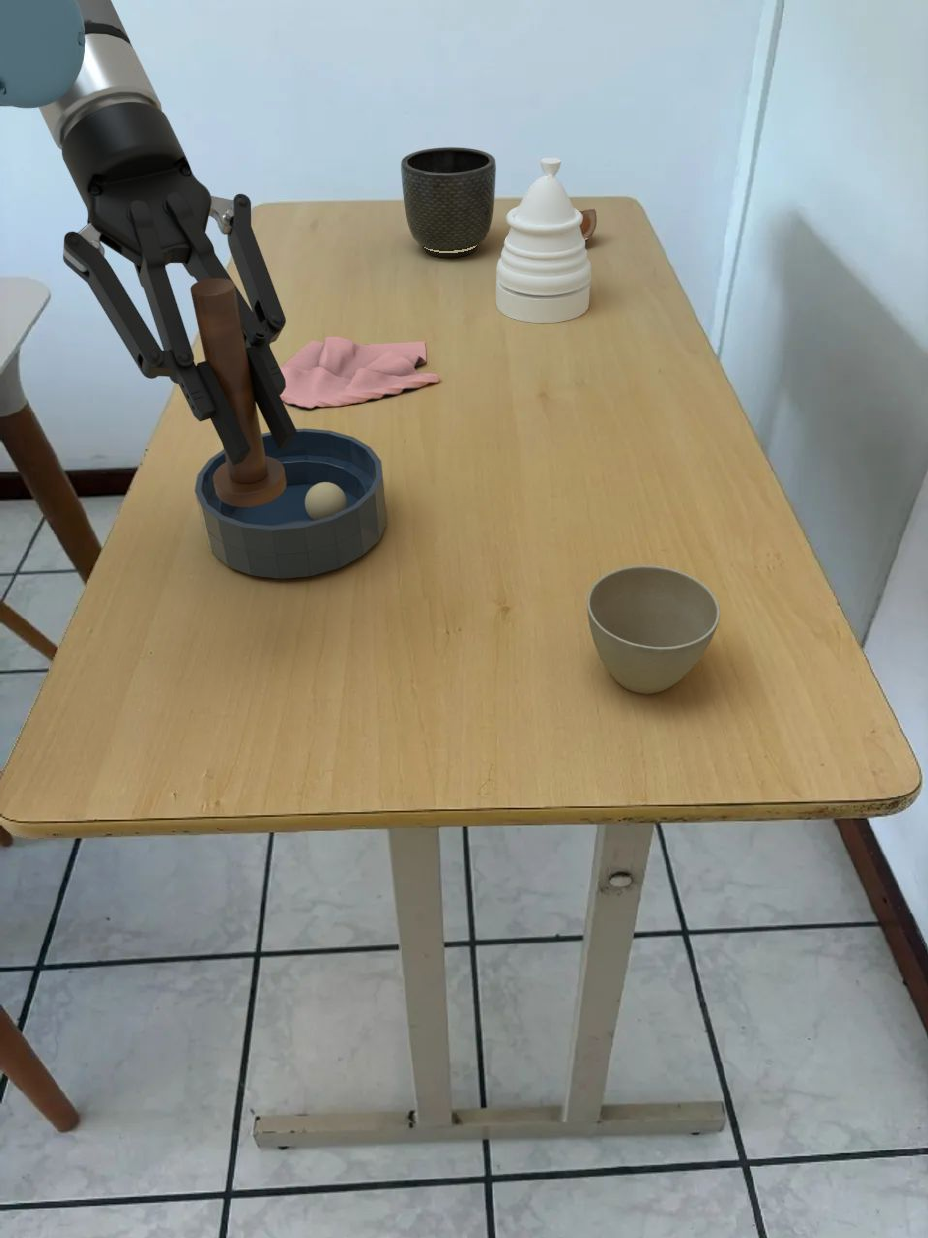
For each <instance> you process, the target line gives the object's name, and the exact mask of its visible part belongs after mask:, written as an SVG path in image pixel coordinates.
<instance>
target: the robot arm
mask: <svg viewBox="0 0 928 1238" xmlns="http://www.w3.org/2000/svg"><path fill="white" fill-rule="evenodd" d="M132 45H133V44H132V43H131V39H130V38H129V36H128V33H127V31H126V29H125V27H124V25H123V23H122V21H121V18H120V17H119V14H118V12H117V10H116V8H115V6H114V3H113V1H112V0H0V107H14V108H19V109H39V111H40V113H41V115H42V118H43V120H44V122H45V124H46V126H47V128H48V130H49V132H50V135H51V136H52V137H51V138H52V139H53V141H54V143H55V144H56V146H57V148H58V149H59V150H61V157H62V161H63V162H64V164H65V167H66V168H67V170H68V172H69V175H70V177H71V179H72V181H73V183H74V185H75V187H76V189H77V191H78V193H79V195H80V198H81V200H82V202H83V204H84V206H85V208H86V211H87V219H86V222H87V223H86V225H85V226H84V227H82V229H80V230H79V231H78V232H77V231H69V232H67V233H65V234H64V236H63V247H62V248H63V249H62V260H63V263H64V264H65V265H66V266H67V268H69V269H71V271H72V272H74V273H75V274H76V275H78V276H79V277H80V279H82V280H83V281H84V282H86V284H87V285H88V287H89V288H90V290H91V292H92V293H93V295H94V296H95V298H96V300H97V301H98V303H99V305H100V306H101V308H102V310H103V311H104V313H105V315H106V316H107V318H108V319H109V321H110V323H111V325H112V326H113V328H114V330H115V331H116V333H117V334H118V336H119V338H120V339H121V341H122V343H123V344H124V346H125V347H126V349H127V351H128V353H129V354H130V356H131V358H132V359H133V361H134V363H135V365H136V366H137V367H138V369H139V371H140V372H141V374H142V375H143V377H145V378H146V379H150V380H154V379H156V378H158V377H168V378H169V379H170V381H171V382H172V383H174V384H176V385H178V386H179V388H180V391H181V392H182V394H183V396H184V398H185V400H186V402H187V404H188V406H189V409H190V411H191V413H192V415H193V417H194V418H196V420H197V421H198V422H199V423H200V422H203V421H207V420H210V421H211V423H212V425H213V427H214V429H215V431H216V433H217V436H218V437H219V439H220V441H221V444H222V447H223V446H224V448H225V450H226V452H227V454H228V456H229V458H230V460H231V462H232V464H233V465H236V464H239V463H241V462H243V461H244V460H245V458H246V456H247V455H248V453H249V452H250V450H251V448H250V446H249V444H248V442H247V440H246V438H245V436H244V434H243V432H242V430H241V427H240V425H239V423H238V421H237V419H236V417H235V415H234V413H233V411H232V409H231V407H230V405H229V403H228V400H227V398H226V396H225V394H224V392H223V390H222V388H221V386H220V384H219V382H218V380H217V378H216V376H215V373H214V371H213V369H212V367H211V365H210V363H209V361H208V360H206V361H205V360H204V361H200V362H197V364H196V363H195V356H194V352H193V349H192V346H191V342H190V340H189V336H188V334H187V330H186V327H185V324H184V322H183V318H182V314H181V312H180V308H179V306H178V305H179V304H178V302H177V300H176V296H175V293H174V289H173V287H172V284H171V281H170V278H169V275H168V272H167V268H166V266H168V265H170V264H181V265H182V266H183V267H184V269H185V270H186V272H187V273H188V274H189V276H190V277H192V278H194V279H195V281H196V283H197V282H199V281H202V280H206V279H211V278H223V279H228V280H231V281H233V279H232V278H231V276H230V274H229V272H228V271H227V270H226V268H225V266H224V265H223V263H222V262H221V261H220V259H219V257H218V256H217V254H216V252H215V247H214V244H213V243H212V241H211V239H210V238H209V235H208V234H207V233H206V230H207V227H208V223H209V217H211V218H212V219H214V220H215V221H216V224H217V227H218V229H219V231H220V233H221V234H222V235H226V236H227V237H226V238H227V245H228V248H229V251H230V254H231V257H232V260H233V262H234V265H235V267H236V271H237V273H238V276H239V279H240V281H241V283H242V287H243V290H244V292H245V295H246V299H247V300H248V303H249V304H248V303H247V300H246V299H245V298H244V296H243V295H242V293H241V292H240V289H239V288H238V286H237V285H236V284H235V288H236V294H237V299H238V305H239V311H240V316H241V322H242V327H243V333H244V339H245V344H246V350H247V356H248V361H249V367H250V372H251V378H252V384H253V389H254V395H255V401H256V406H257V407H258V409H259V410H258V411H260V414H261V416H262V418H263V420H264V423H265V424H266V426H267V428H268V430H269V432H271V434H272V437H273V439H274V441H275V443H276V445H277V447H278V449H280V448H283V447H286V446H288V445H289V444H290V442H291V441H292V439H293V438H294V437H295V435H296V434H297V431H296V429H297V428H296V426H295V424H294V423H293V420H292V418H291V416H290V414H289V412H288V410H287V408H286V406H285V403H284V402H283V401H282V399H281V397H280V395H281V394H282V393H283V391H284V389H285V388H286V381H285V378H284V376H283V374H282V372H281V369H280V366H279V363H278V361H277V359H276V357H275V355H274V353H273V351H272V349H271V344H272V343H275V342H276V341H277V340H278V339H279V337H280V335H281V333H282V331H283V330H284V327H286V323H287V318H286V316H285V312H284V310H283V308H282V304H281V302H280V299H279V296H278V294H277V291H276V289H275V285H274V284H273V280H272V278H271V275H270V273H269V270H268V266H267V265H266V261H265V259H264V257H263V254H262V251H261V248H260V245H259V242H258V240H257V237H256V235H255V232H254V230H253V227H252V201H251V199H250V197H249V196H248V195H246V194H244V193H238V194H236V195H235V196H234V197H233V199H228V198H223V197H219V196H214V195H211V193H210V191H209V190H208V188H207V187H206V186H205V185H204V184H203V183H202V182H201V181H200V180H198V178H197V177H196V175H194V173H193V171H192V168H191V165H190V162H189V159H188V158H187V156H186V154H185V151H184V149H183V146H182V145H181V143H180V140H179V139H178V137H177V135H176V133H175V130H174V128H173V126H172V124H171V122H170V120H169V118H168V116H167V115H166V113H164V112H163V107H162V103H161V100H160V99H159V96H158V94H157V92H156V91H155V88H154V86H153V85H152V82H151V80H150V78H149V77H148V74H147V72H146V70H145V68H144V66H143V64H142V62H141V60H140V58H139V56H138V54H137V52H136V50H135V48H134V47H133V46H132ZM103 245H104V246H107V247H108V248H110V249H111V250H113V251H114V252H116V253H117V254H119V255H120V256H121V257H123V258H125V259H127V260H128V261H129V262H131V263H133V266H134V269H135V271H136V275H137V277H138V281H139V284H140V287H141V288H142V289H143V291H144V294H145V297H146V300H147V303H148V307H149V309H150V312H151V316H152V318H153V321H154V325H155V328H156V331H157V334H158V337H159V341H160V343H161V346H162V349H163V350H162V349H161V346H160V345H159V344H158V342H157V340H156V339H155V337H154V335H153V333H152V332H151V330H150V329H149V327H148V325H147V324H146V322H145V320H144V319H143V316H142V315H141V313H140V312H139V310H138V309H137V306H136V305H135V303H134V302H133V300H132V298H131V297H130V296H129V294H128V292H127V290H126V289H125V287H124V286H123V284H122V282H121V281H120V279H119V277H118V276H117V274H116V273H115V271H114V269H113V268H112V266H111V264H110V263H109V261H108V260H107V258H106V257H105V253H106V250H105V247H104V246H103ZM224 448H223V449H224Z"/></svg>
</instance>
